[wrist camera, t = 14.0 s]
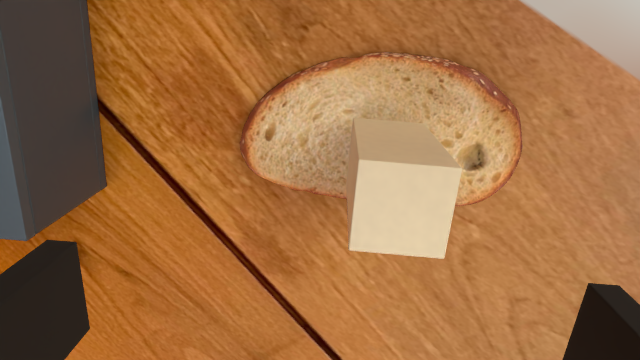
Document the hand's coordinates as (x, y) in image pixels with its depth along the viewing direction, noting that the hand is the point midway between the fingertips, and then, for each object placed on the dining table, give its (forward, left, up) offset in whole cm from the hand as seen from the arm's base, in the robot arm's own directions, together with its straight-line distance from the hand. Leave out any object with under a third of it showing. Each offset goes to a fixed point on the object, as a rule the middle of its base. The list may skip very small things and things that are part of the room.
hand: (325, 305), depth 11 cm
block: (0, +4, -20) cm, 21 cm away
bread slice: (0, +4, -24) cm, 24 cm away
